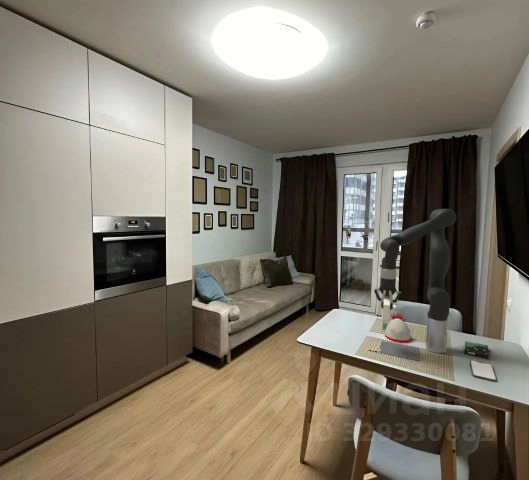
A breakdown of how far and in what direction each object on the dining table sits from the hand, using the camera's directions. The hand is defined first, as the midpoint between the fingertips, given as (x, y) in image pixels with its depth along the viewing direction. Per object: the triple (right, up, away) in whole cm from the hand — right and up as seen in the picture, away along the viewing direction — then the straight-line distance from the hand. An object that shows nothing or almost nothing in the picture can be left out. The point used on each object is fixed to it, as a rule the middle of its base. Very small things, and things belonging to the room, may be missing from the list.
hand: (386, 309), depth 154 cm
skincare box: (+14, -20, +32) cm, 40 cm away
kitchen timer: (+14, -21, +17) cm, 31 cm away
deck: (+1, -4, +2) cm, 4 cm away
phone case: (+36, -25, -20) cm, 48 cm away
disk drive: (+48, -23, +1) cm, 53 cm away
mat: (+5, -22, +2) cm, 23 cm away
